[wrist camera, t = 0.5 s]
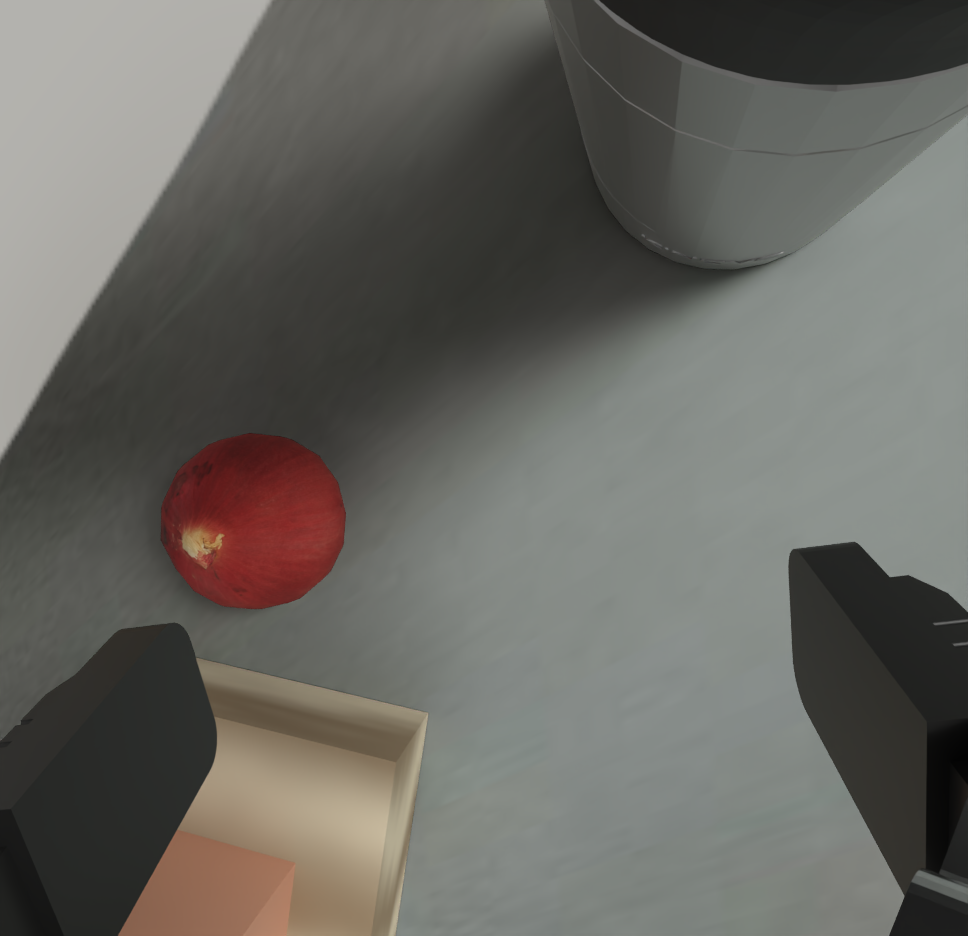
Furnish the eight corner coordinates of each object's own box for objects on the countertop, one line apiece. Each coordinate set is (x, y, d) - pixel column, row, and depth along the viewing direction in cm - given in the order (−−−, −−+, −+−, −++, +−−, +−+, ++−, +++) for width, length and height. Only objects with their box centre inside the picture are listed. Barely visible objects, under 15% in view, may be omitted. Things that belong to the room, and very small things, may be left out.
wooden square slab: (144, 645, 33) (75, 681, 29) (428, 713, 30) (396, 762, 27) (118, 913, 34) (51, 981, 30) (386, 995, 32) (350, 1080, 28)
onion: (228, 567, 32) (90, 629, 24) (235, 420, 31) (95, 434, 23) (370, 587, 30) (274, 660, 23) (381, 435, 30) (285, 456, 22)
